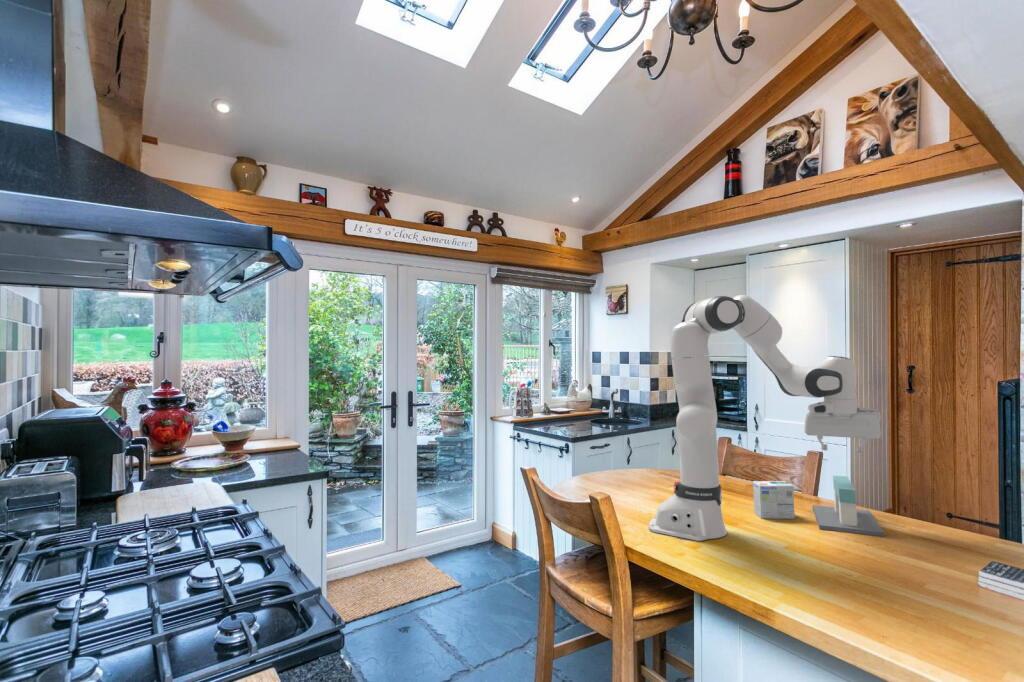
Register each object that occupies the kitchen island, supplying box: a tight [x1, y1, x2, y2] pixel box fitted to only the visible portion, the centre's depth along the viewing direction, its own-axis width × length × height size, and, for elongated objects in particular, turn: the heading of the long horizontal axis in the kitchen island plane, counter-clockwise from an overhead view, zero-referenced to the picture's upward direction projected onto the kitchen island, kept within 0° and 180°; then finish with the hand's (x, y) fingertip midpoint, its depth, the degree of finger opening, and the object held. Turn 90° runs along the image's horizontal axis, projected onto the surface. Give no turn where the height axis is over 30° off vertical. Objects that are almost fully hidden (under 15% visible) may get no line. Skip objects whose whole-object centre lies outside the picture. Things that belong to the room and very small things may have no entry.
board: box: [812, 489, 885, 537], centre depth 158 cm, size 16×22×8 cm
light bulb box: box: [752, 480, 796, 520], centre depth 165 cm, size 11×7×11 cm, turn 84°
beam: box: [832, 475, 857, 505], centre depth 158 cm, size 18×4×4 cm, turn 152°
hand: (842, 451), depth 158 cm, fingers open, 8 cm apart
